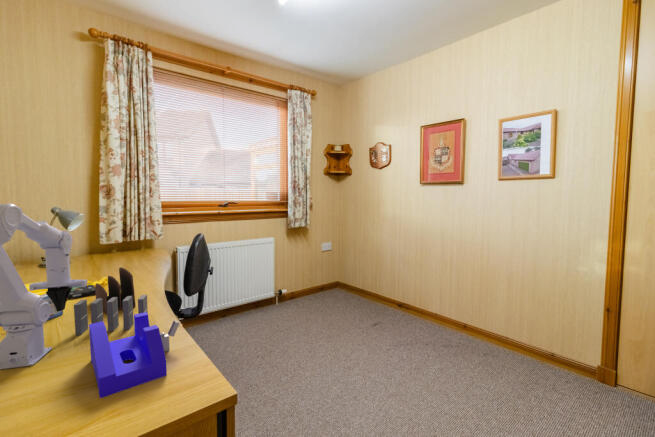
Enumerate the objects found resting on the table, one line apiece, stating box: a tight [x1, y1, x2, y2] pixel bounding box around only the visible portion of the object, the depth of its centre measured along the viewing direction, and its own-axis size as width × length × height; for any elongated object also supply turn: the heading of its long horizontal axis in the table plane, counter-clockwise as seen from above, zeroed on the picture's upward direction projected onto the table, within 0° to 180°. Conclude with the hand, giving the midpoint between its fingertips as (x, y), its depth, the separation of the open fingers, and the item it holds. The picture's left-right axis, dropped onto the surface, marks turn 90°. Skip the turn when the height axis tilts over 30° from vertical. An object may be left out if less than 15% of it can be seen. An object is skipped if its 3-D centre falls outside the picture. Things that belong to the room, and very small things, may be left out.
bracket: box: [88, 312, 168, 399], centre depth 82 cm, size 21×14×10 cm, turn 41°
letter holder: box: [94, 267, 136, 314], centre depth 128 cm, size 10×20×14 cm, turn 46°
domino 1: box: [73, 299, 89, 336], centre depth 103 cm, size 5×2×10 cm, turn 17°
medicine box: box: [39, 293, 64, 321], centre depth 114 cm, size 8×4×9 cm, turn 168°
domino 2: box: [89, 298, 104, 324], centre depth 104 cm, size 5×2×10 cm, turn 17°
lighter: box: [160, 320, 180, 353], centre depth 91 cm, size 7×2×8 cm, turn 129°
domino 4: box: [122, 296, 134, 331], centre depth 107 cm, size 5×2×10 cm, turn 17°
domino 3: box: [106, 297, 120, 333], centre depth 105 cm, size 5×2×10 cm, turn 17°
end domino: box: [137, 294, 149, 315], centre depth 108 cm, size 5×2×10 cm, turn 17°
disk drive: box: [67, 284, 96, 301], centre depth 143 cm, size 10×3×15 cm
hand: (60, 310), depth 101 cm, fingers closed
